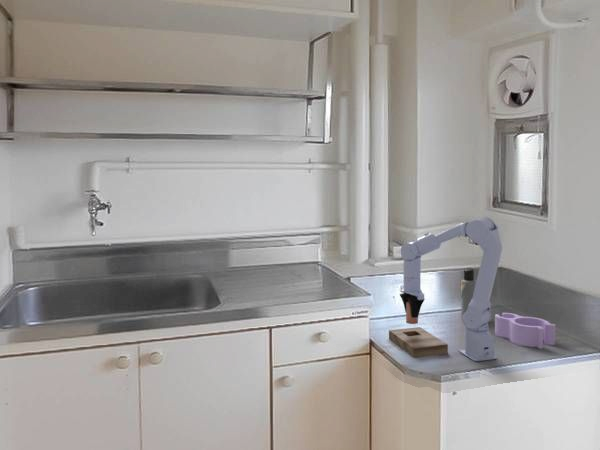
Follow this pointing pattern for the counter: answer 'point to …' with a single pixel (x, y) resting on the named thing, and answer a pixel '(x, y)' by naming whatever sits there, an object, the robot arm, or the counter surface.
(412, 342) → the board
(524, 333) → the clip
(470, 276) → the lotion bottle
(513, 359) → the counter surface
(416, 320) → the pin
